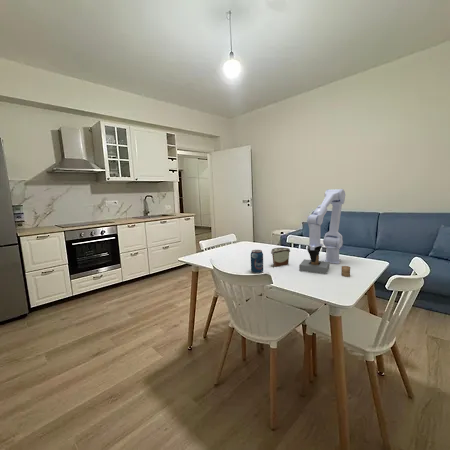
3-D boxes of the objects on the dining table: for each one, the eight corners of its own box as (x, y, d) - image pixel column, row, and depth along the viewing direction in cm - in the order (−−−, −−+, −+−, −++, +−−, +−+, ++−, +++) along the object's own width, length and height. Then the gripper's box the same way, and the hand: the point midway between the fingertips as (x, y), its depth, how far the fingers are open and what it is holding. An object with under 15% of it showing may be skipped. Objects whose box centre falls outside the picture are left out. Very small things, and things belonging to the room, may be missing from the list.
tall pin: (311, 268, 140) (311, 254, 139) (319, 268, 139) (319, 255, 138) (310, 270, 137) (310, 256, 136) (318, 270, 135) (318, 256, 134)
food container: (284, 262, 154) (284, 246, 153) (290, 264, 149) (290, 248, 147) (267, 264, 150) (267, 248, 149) (272, 267, 144) (272, 251, 143)
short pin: (341, 273, 129) (341, 265, 129) (350, 274, 127) (350, 266, 127) (341, 276, 126) (341, 267, 125) (349, 277, 124) (350, 268, 123)
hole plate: (304, 265, 147) (304, 259, 146) (329, 267, 139) (329, 261, 139) (299, 270, 136) (299, 264, 136) (326, 274, 129) (326, 267, 129)
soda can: (256, 274, 134) (256, 253, 132) (248, 271, 139) (247, 250, 137) (266, 271, 138) (265, 250, 136) (257, 268, 143) (256, 248, 141)
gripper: (320, 238, 127) (320, 264, 129) (324, 234, 140) (324, 257, 141) (306, 238, 131) (306, 262, 132) (311, 233, 143) (311, 256, 145)
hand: (314, 260), depth 137 cm, fingers open, 7 cm apart
